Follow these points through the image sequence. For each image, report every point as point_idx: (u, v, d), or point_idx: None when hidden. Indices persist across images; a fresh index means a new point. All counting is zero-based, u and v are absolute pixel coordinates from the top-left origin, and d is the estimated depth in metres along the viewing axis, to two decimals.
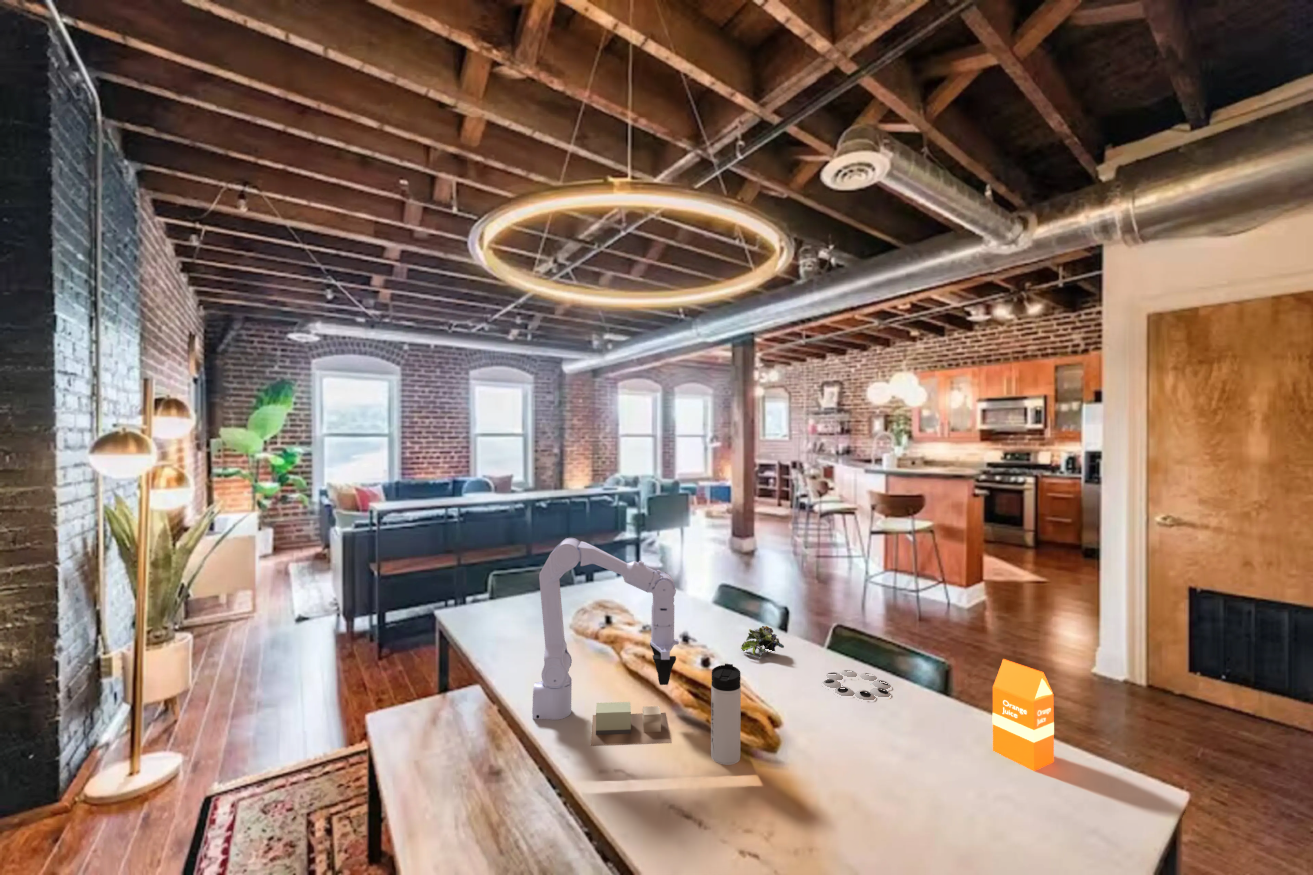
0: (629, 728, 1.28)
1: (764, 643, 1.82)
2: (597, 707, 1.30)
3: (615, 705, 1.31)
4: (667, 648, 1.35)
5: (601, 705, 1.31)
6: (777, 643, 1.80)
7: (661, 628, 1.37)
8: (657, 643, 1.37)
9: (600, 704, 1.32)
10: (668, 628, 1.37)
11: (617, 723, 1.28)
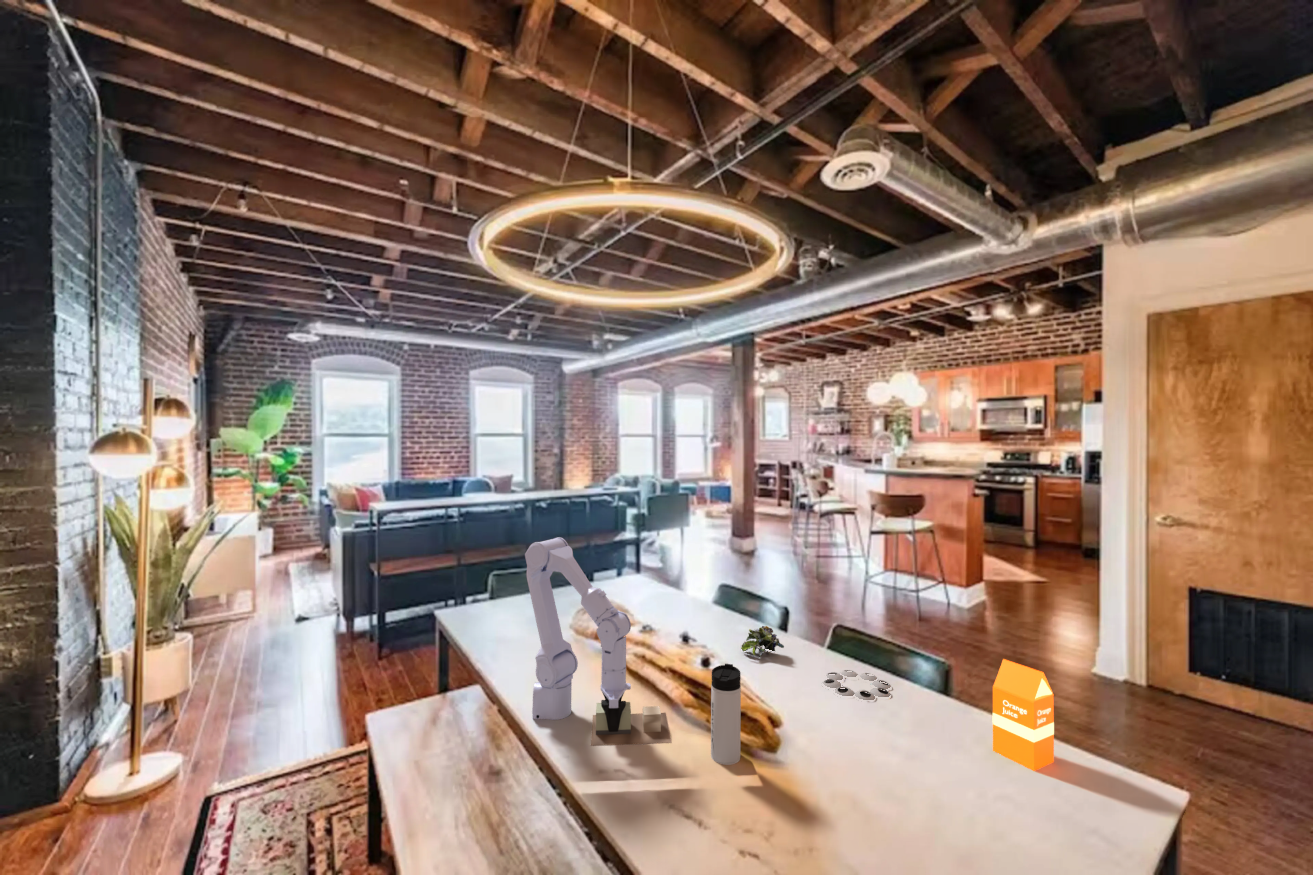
0: (629, 728, 1.28)
1: (764, 643, 1.82)
2: (597, 707, 1.30)
3: None
4: (616, 695, 1.26)
5: None
6: (777, 643, 1.80)
7: (611, 673, 1.28)
8: (607, 689, 1.28)
9: (600, 704, 1.32)
10: (618, 672, 1.28)
11: None
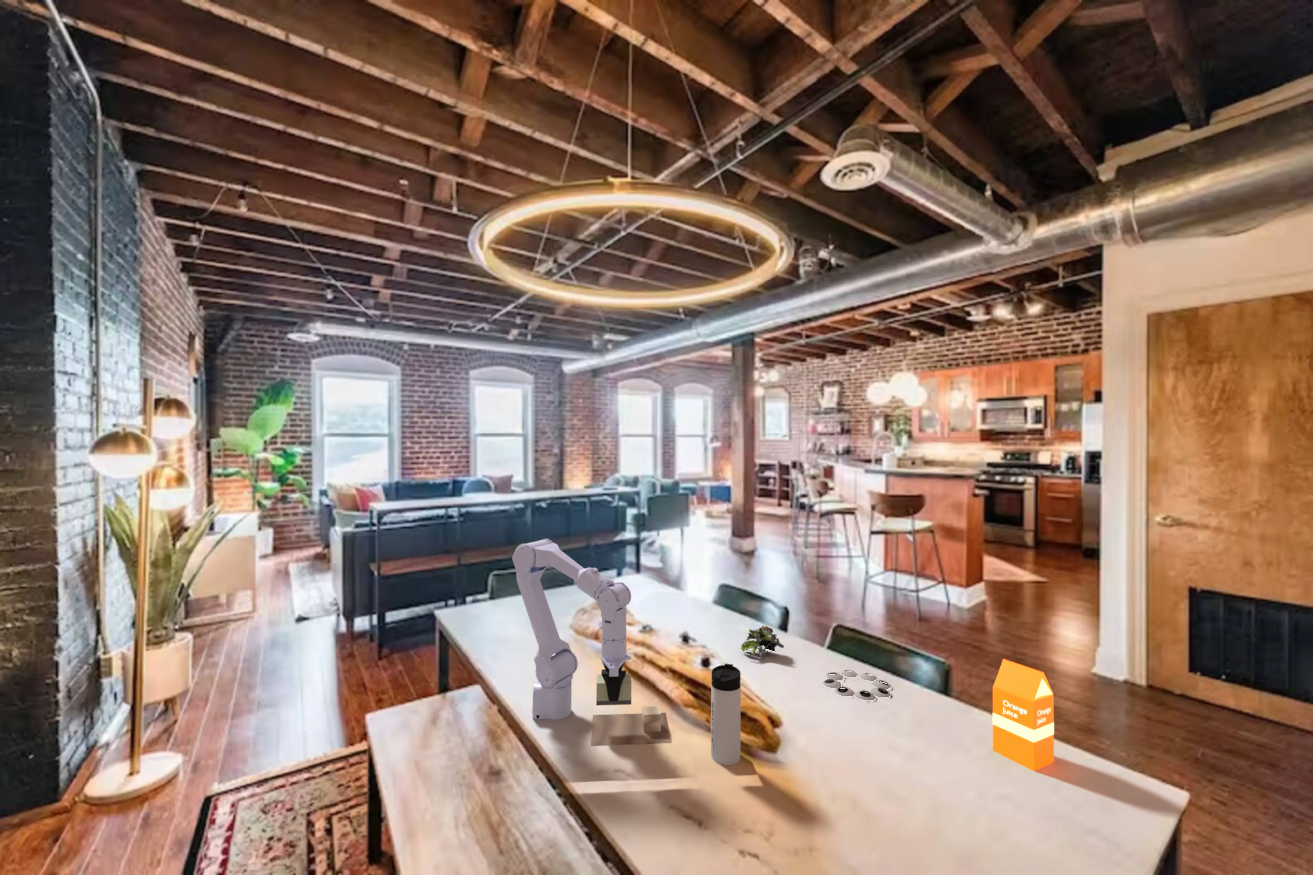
0: (630, 699, 1.28)
1: (764, 643, 1.82)
2: (598, 678, 1.30)
3: None
4: (617, 664, 1.26)
5: (602, 677, 1.31)
6: (777, 643, 1.80)
7: (611, 642, 1.28)
8: (607, 658, 1.28)
9: (601, 675, 1.32)
10: (619, 642, 1.28)
11: None
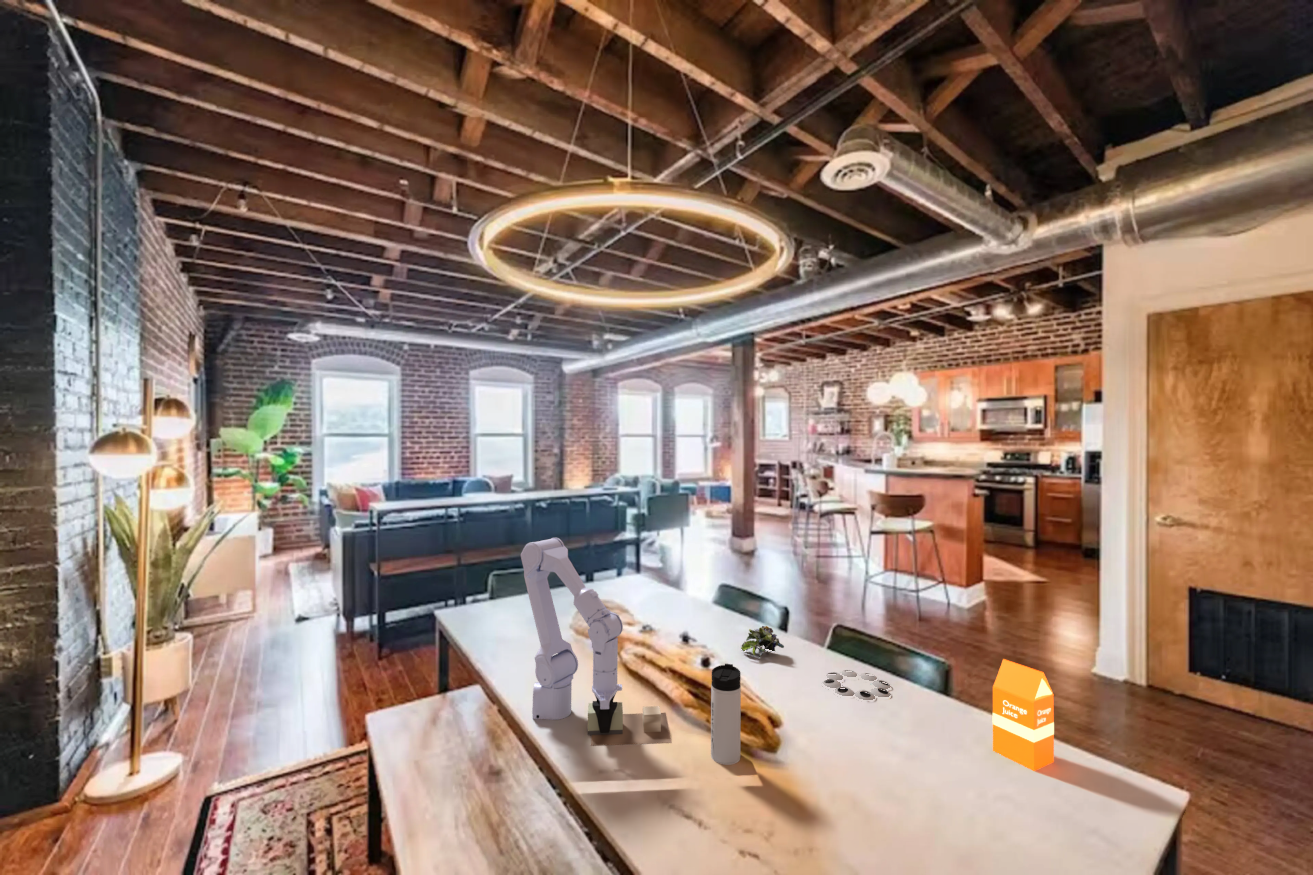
0: (621, 728, 1.28)
1: (764, 643, 1.82)
2: (589, 707, 1.30)
3: None
4: (608, 696, 1.26)
5: None
6: (777, 643, 1.80)
7: (602, 674, 1.27)
8: (598, 690, 1.28)
9: None
10: (610, 674, 1.28)
11: None
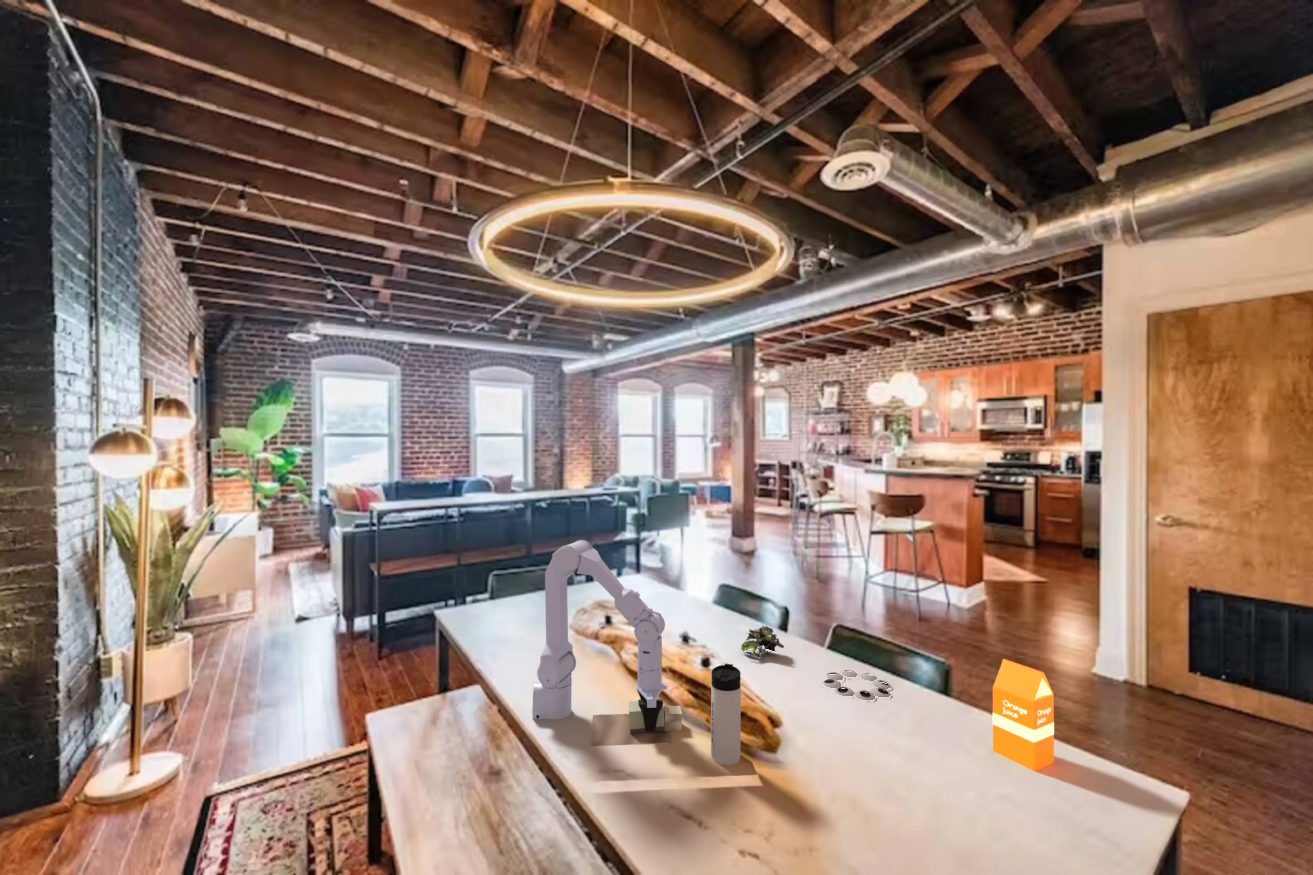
0: (663, 725, 1.29)
1: (764, 643, 1.82)
2: (629, 706, 1.31)
3: None
4: (654, 694, 1.26)
5: (633, 704, 1.31)
6: (777, 643, 1.80)
7: (647, 672, 1.28)
8: (643, 688, 1.28)
9: (632, 703, 1.32)
10: (655, 672, 1.29)
11: None
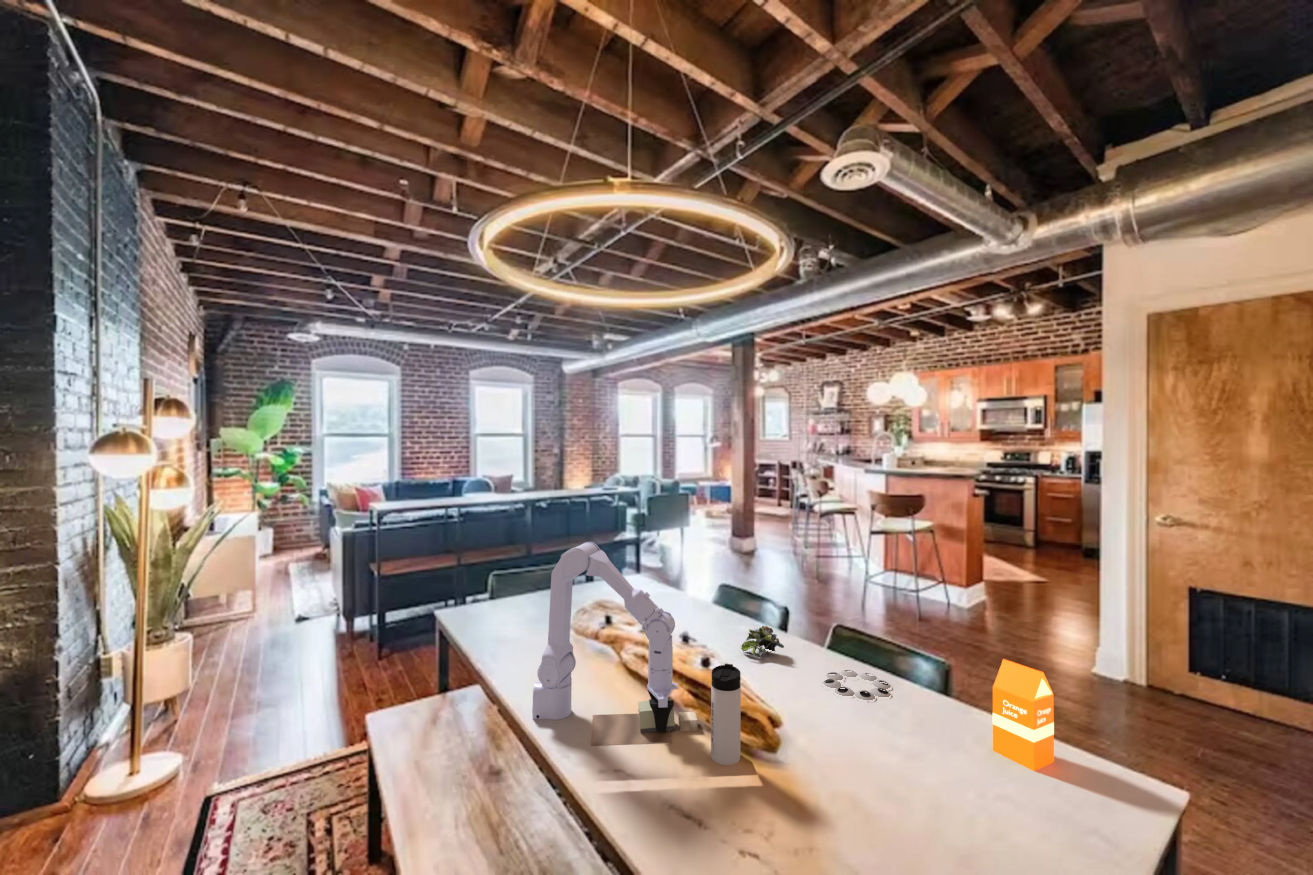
0: (673, 724, 1.29)
1: (764, 643, 1.82)
2: (640, 706, 1.31)
3: None
4: (665, 694, 1.27)
5: (643, 704, 1.32)
6: (777, 643, 1.80)
7: (658, 672, 1.28)
8: (654, 688, 1.29)
9: (642, 702, 1.32)
10: (666, 672, 1.29)
11: None
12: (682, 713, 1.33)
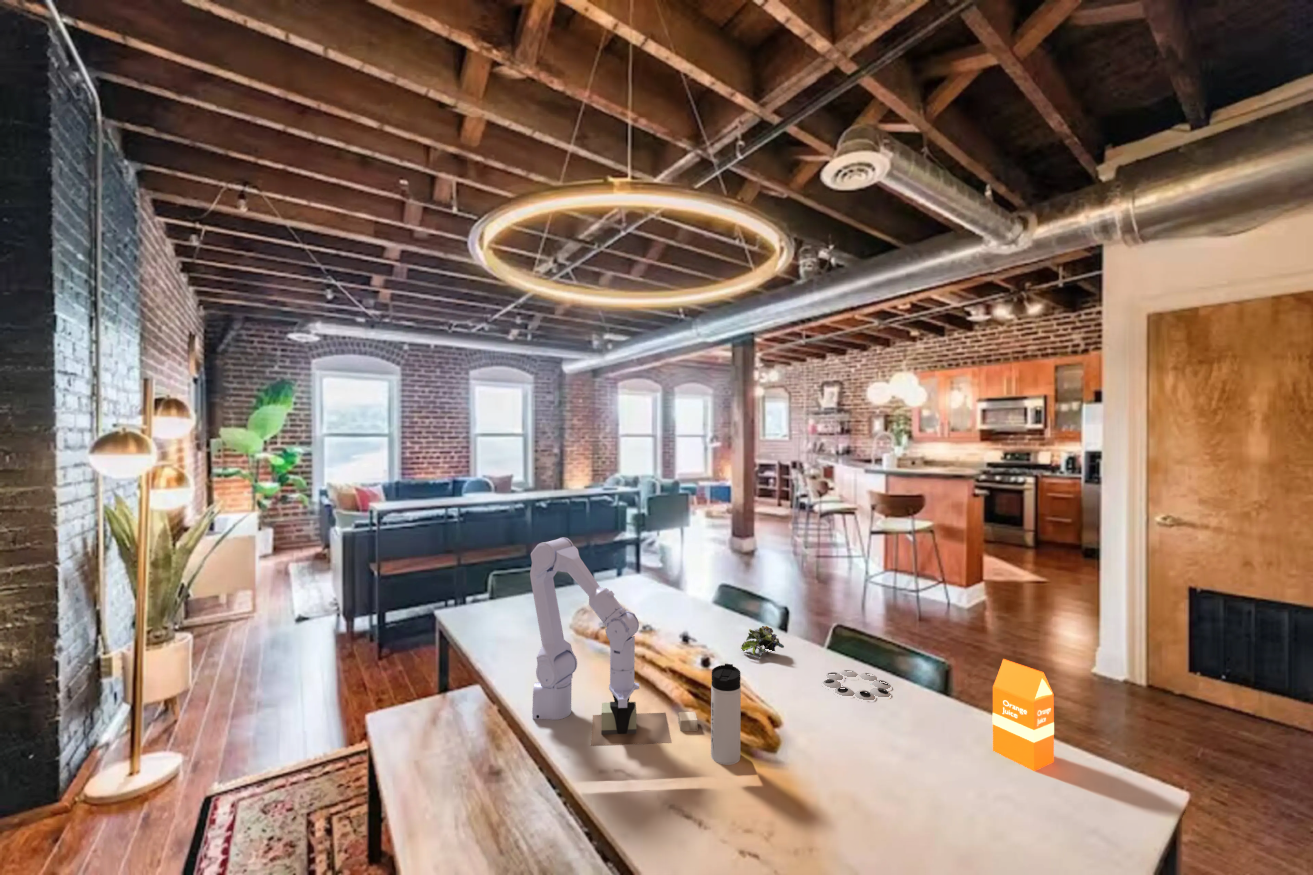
0: (635, 728, 1.28)
1: (764, 643, 1.82)
2: (603, 707, 1.30)
3: None
4: (625, 694, 1.26)
5: (607, 705, 1.31)
6: (777, 643, 1.80)
7: (619, 672, 1.28)
8: (615, 688, 1.28)
9: (605, 704, 1.32)
10: (627, 672, 1.28)
11: None
12: (682, 713, 1.33)
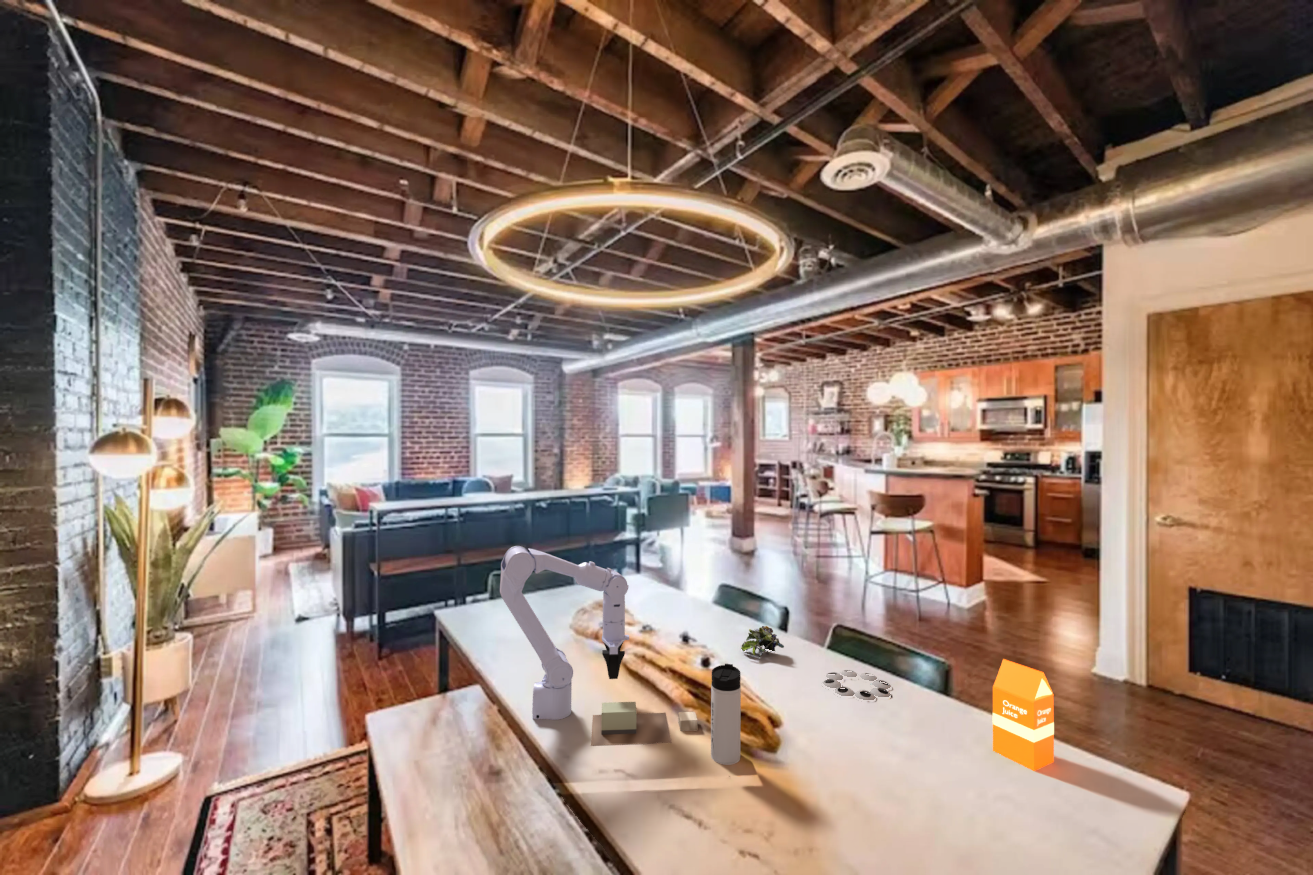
0: (635, 728, 1.28)
1: (764, 643, 1.82)
2: (603, 707, 1.30)
3: (621, 705, 1.31)
4: (616, 643, 1.39)
5: (607, 705, 1.31)
6: (777, 643, 1.80)
7: (611, 624, 1.41)
8: (607, 638, 1.41)
9: (605, 704, 1.32)
10: (618, 624, 1.41)
11: (622, 723, 1.28)
12: (682, 713, 1.33)
